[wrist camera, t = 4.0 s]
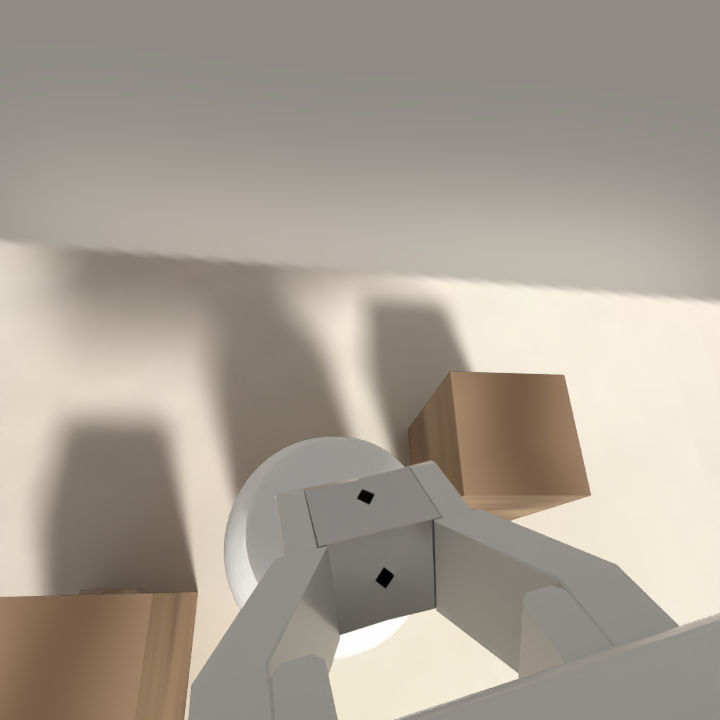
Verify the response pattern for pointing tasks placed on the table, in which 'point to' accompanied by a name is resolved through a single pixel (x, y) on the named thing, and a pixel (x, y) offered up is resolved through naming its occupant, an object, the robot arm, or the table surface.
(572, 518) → the table surface
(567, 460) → the walnut block seven
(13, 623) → the walnut block one
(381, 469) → the supplement bottle
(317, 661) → the robot arm
